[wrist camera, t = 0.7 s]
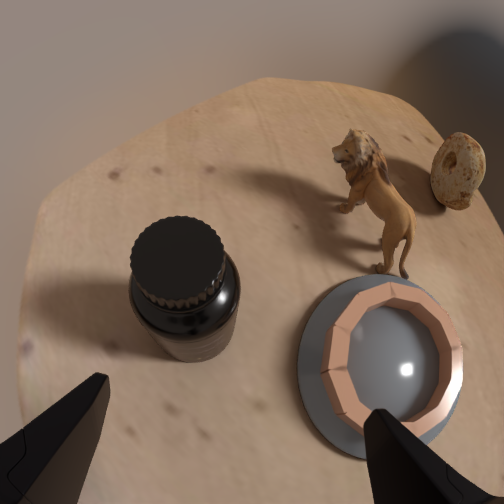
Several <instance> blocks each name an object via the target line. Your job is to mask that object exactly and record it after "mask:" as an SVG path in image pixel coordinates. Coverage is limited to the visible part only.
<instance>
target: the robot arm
mask: <svg viewBox="0 0 504 504" xmlns="http://www.w3.org/2000/svg"><path fill="white" fill-rule="evenodd" d="M109 399H110V383H109V377H108V375H106V374H102V373H99V372H96V373H94V374H93V375H91V376H90V377H89V378H88V379H86V380H85V381H84V382H82V383H81V384H80V385H78V386H77V387H76V388H74V389H73V390H72V391H70V392H69V393H68V394H67V395H65V396H64V397H63V398H61V399H60V400H59V401H57V402H56V403H55V404H53V405H52V406H51V407H50V408H48V409H47V410H46V411H44V412H43V413H42V414H40V415H39V416H38V417H36V418H35V419H34V420H32V421H31V422H30V423H29V424H27V425H26V426H25V427H24V428H23V429H21V430H20V431H18V432H17V433H15V434H14V435H13V436H11V437H10V438H8V439H7V440H5V441H4V442H2V443H1V444H0V504H77V502H78V499H79V496H80V493H81V490H82V487H83V484H84V481H85V478H86V475H87V472H88V469H89V466H90V464H91V461H92V458H93V455H94V452H95V450H96V447H97V444H98V442H99V439H100V435H101V431H102V427H103V423H104V419H105V415H106V411H107V407H108V403H109ZM363 431H364V441H365V451H366V461H367V467H368V472H369V477H370V482H371V488H372V493H373V498H374V504H504V497H497V496H493V495H490V494H488V493H486V492H485V491H483V490H482V489H480V488H479V487H478V486H476V485H475V484H473V483H472V482H470V481H469V480H467V479H466V478H465V477H463V476H462V475H461V474H459V473H458V472H457V471H456V470H454V469H453V468H452V467H451V466H450V465H449V464H447V463H446V462H445V461H444V460H443V459H442V458H440V457H439V456H438V455H437V454H436V453H435V452H434V451H432V450H431V449H430V448H429V447H428V446H427V445H426V444H424V443H423V442H422V441H421V440H420V439H419V438H418V437H416V436H415V435H414V434H413V433H412V432H411V431H410V430H409V429H407V428H406V427H405V426H404V425H403V424H402V423H401V422H400V421H399V420H397V419H396V418H395V417H394V416H393V415H392V414H391V413H390V412H389V411H387V410H386V409H384V408H378V409H374V410H373V411H372V412H371V414H370V415H369V416H368V418H367V419H366V420H365V422H364V425H363Z"/></svg>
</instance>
